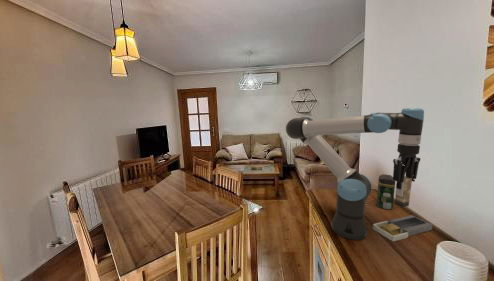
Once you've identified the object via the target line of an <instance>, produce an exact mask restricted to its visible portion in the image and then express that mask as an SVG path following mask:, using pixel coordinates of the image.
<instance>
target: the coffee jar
mask: <svg viewBox="0 0 494 281" xmlns="http://www.w3.org/2000/svg"><path fill="white" fill-rule="evenodd" d="M377 183H378V184H377V190H376V191H377V193H376V205H377V207H378V208H380V209H383V210H393V208H394V200H395V198H394V197H395V191H396V190H395V188H396V181H395V180H393V175H390V174H384V173H382V174H381V175H380V174H379V176H378V181H377Z"/></svg>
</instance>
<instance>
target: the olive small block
mask: <svg viewBox="0 0 494 281" xmlns="http://www.w3.org/2000/svg"><path fill="white" fill-rule="evenodd" d="M387 225H389V226H391V227H392V228H394V229H396V230H395V235H398V234H401V233H400V229H401V228H400V227H398V226H396V225H394V224H392V223H391V224H387Z"/></svg>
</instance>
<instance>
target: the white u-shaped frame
mask: <svg viewBox="0 0 494 281" xmlns="http://www.w3.org/2000/svg"><path fill="white" fill-rule="evenodd" d="M387 224H388V220H385V221H381V222H376V223H373V224H372V227H371V229H372V230H374V231H375V232H377V233H378V234H380V235H382V236H383V237H385V238H387V239H388V240H389V241H391V242H396V241H401V240H403V239H407V238H408V237H409V236H408V233H407V232H406V233H402V234H401V233H400V234H398V235H394V236H392V235H390V234H389V233H387V232H386V231H384V230H382V226H383V225H387Z"/></svg>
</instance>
